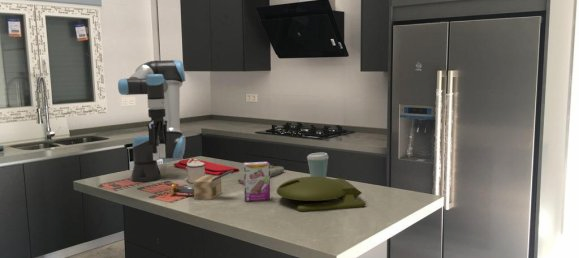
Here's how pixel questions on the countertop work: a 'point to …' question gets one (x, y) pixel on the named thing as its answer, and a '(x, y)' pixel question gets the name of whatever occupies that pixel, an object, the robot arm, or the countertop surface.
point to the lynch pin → (180, 189)
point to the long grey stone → (273, 172)
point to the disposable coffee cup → (318, 164)
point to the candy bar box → (256, 181)
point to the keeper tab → (222, 175)
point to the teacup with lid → (195, 170)
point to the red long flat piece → (208, 167)
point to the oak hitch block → (207, 187)
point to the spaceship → (321, 193)
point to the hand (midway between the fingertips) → (159, 158)
